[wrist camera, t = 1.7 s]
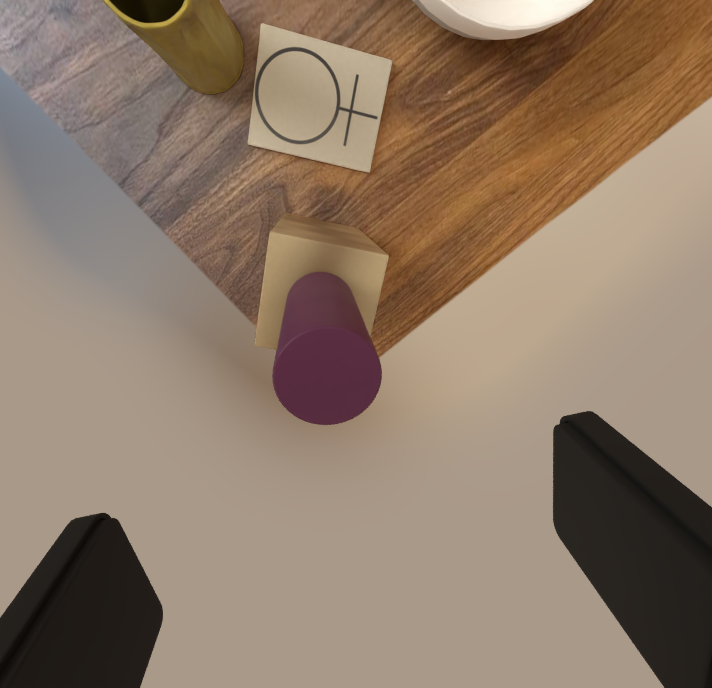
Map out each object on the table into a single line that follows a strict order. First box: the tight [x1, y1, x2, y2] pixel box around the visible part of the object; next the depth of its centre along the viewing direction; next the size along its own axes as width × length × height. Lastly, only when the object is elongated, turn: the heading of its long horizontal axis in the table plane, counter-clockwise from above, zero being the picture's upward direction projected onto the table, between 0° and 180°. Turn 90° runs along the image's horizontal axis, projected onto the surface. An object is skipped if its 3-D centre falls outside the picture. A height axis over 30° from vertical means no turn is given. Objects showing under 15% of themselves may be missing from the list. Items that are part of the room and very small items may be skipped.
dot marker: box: [273, 272, 382, 425], centre depth 20 cm, size 4×4×11 cm
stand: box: [254, 213, 389, 349], centre depth 33 cm, size 7×7×17 cm
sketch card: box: [248, 23, 392, 173], centre depth 36 cm, size 11×9×1 cm
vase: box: [103, 0, 244, 94], centre depth 27 cm, size 6×6×14 cm
